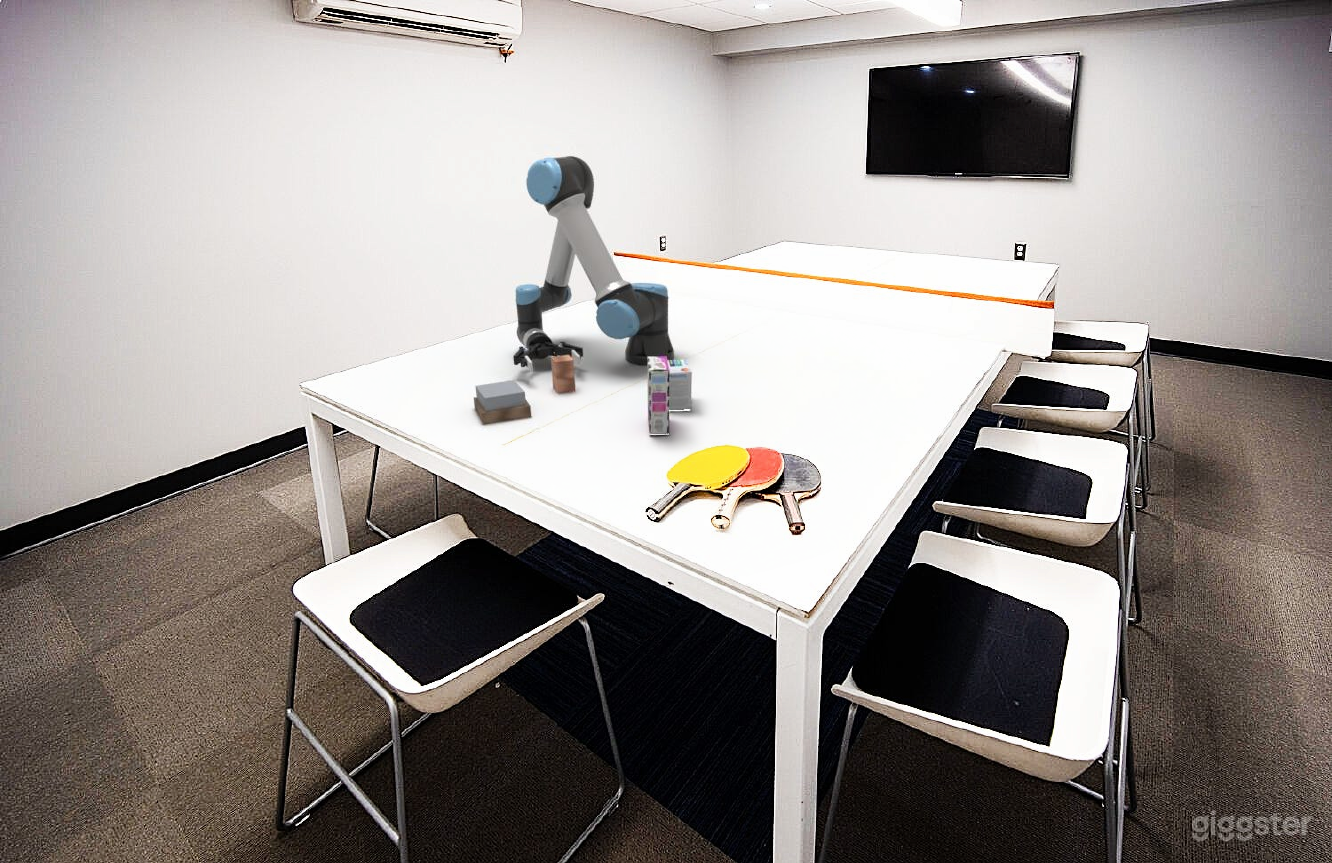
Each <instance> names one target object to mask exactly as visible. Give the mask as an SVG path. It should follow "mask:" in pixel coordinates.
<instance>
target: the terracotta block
mask: <svg viewBox="0 0 1332 863" xmlns="http://www.w3.org/2000/svg"><path fill="white" fill-rule="evenodd" d="M550 362H551V376H552V388H553V390H554V391H555V392H556V393H557V394H558V395H559V394H565V393H573V391H574V392H576V377H575V376H576V375H575V362H574V360H573V359H572V358H571V357H570V356H569V355H563V356H550Z"/></svg>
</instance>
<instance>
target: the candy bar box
mask: <svg viewBox="0 0 1332 863" xmlns="http://www.w3.org/2000/svg"><path fill="white" fill-rule="evenodd" d="M669 372H670V370H669V366H668V361H667V356H653V357H648V365H647V422H648V423H647V424H648V433H650V434H668V433H669V434H670V412H669V381H670V377H669Z"/></svg>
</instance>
